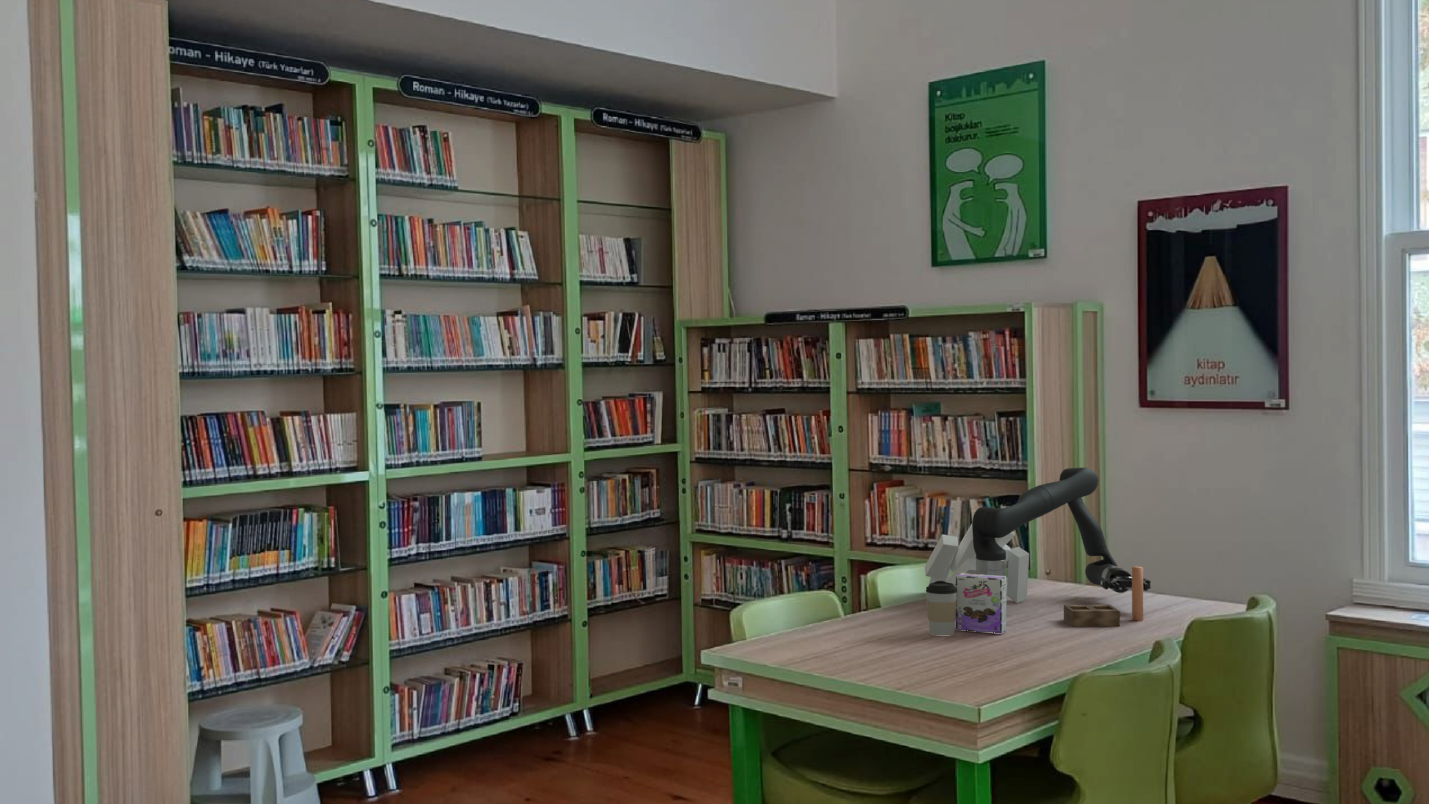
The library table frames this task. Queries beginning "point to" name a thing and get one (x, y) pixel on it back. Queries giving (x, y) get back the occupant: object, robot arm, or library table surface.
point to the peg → (1137, 593)
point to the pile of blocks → (964, 561)
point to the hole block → (1091, 615)
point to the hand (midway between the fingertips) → (1132, 587)
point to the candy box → (981, 603)
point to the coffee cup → (941, 607)
